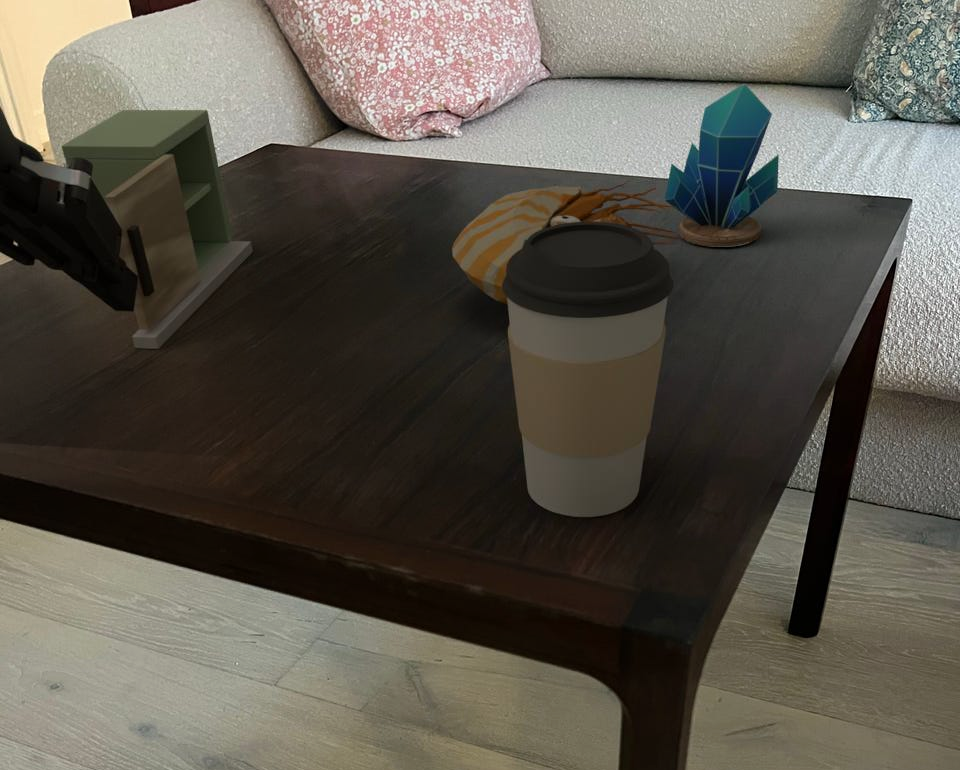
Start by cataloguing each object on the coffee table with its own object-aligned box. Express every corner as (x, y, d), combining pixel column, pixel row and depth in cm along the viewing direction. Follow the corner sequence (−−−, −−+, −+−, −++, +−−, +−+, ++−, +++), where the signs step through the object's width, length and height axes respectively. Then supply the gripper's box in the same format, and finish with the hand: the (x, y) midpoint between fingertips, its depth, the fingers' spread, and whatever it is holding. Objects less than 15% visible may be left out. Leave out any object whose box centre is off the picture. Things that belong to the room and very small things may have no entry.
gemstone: (691, 215, 100) (702, 75, 92) (777, 230, 95) (797, 84, 88) (654, 240, 95) (663, 94, 87) (743, 256, 91) (761, 105, 83)
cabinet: (41, 344, 83) (-11, 187, 76) (155, 247, 99) (122, 109, 92) (158, 349, 82) (117, 188, 74) (255, 250, 98) (229, 109, 90)
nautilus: (638, 245, 96) (733, 310, 85) (419, 277, 88) (495, 352, 78) (650, 153, 90) (753, 211, 80) (418, 179, 83) (500, 246, 73)
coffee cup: (620, 437, 68) (631, 197, 58) (684, 507, 61) (709, 249, 52) (488, 465, 66) (477, 221, 56) (539, 541, 59) (537, 279, 50)
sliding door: (139, 329, 81) (103, 196, 75) (192, 279, 89) (164, 154, 83) (154, 330, 81) (120, 196, 75) (206, 279, 89) (179, 154, 83)
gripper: (24, 38, 54) (214, 247, 77) (-194, 40, 57) (54, 243, 80) (4, 177, 54) (202, 346, 77) (-216, 174, 56) (40, 338, 79)
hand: (126, 293), depth 78 cm, fingers closed
